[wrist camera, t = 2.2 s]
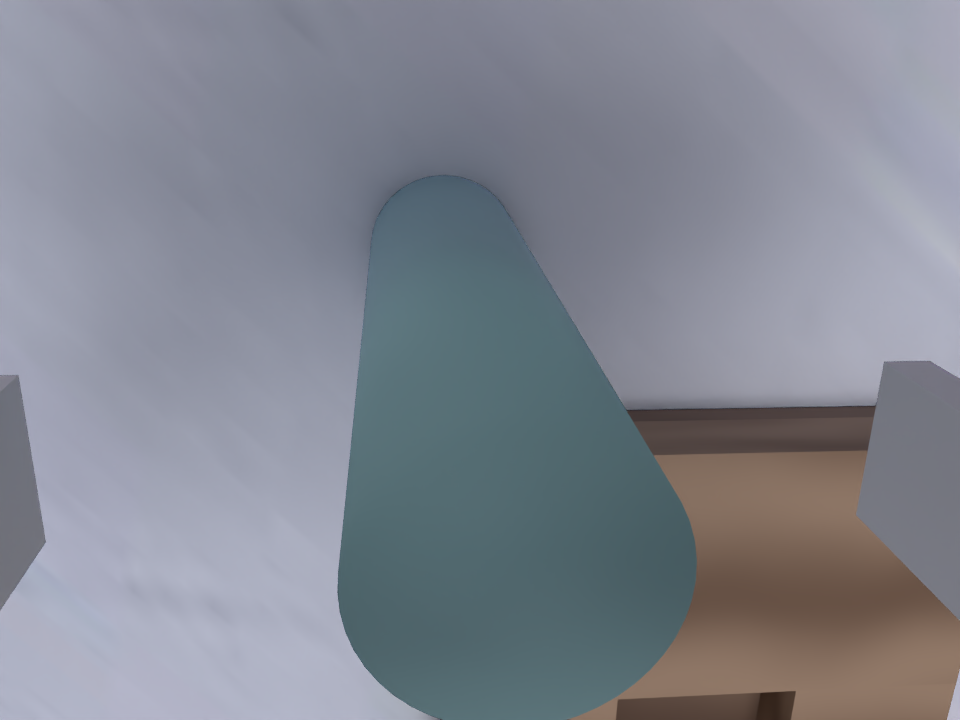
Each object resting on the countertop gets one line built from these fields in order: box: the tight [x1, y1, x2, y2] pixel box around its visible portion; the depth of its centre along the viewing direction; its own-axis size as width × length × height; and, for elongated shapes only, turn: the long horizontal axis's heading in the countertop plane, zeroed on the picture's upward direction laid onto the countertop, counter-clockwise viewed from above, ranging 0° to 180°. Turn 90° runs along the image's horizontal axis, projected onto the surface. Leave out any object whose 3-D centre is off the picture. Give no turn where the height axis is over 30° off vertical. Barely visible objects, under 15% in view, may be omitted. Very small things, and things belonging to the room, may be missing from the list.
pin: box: [338, 175, 697, 720], centre depth 17 cm, size 4×4×16 cm
